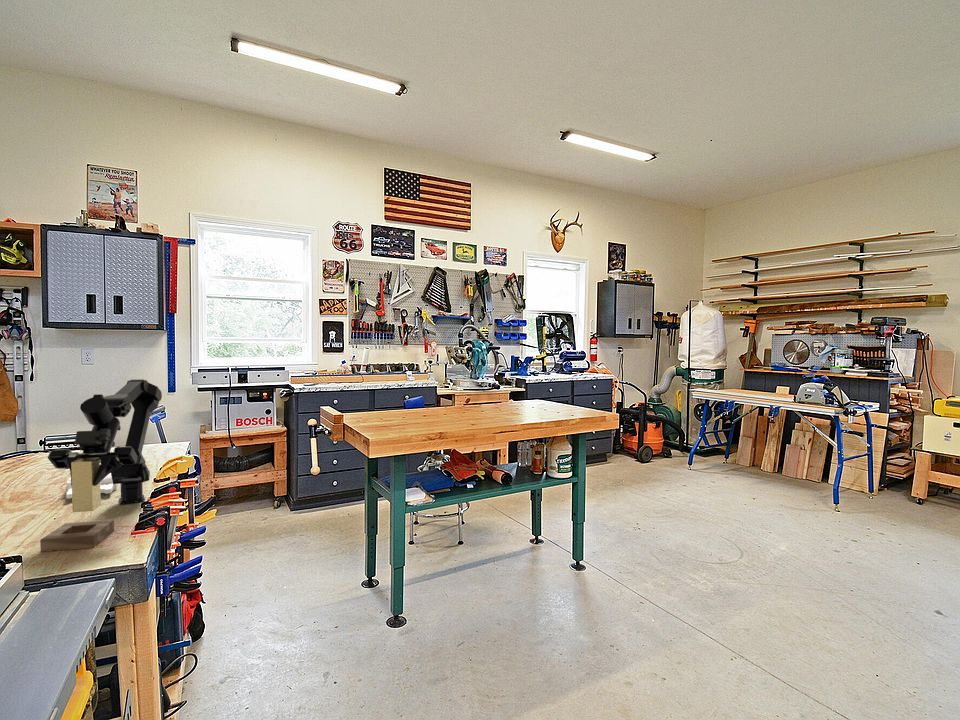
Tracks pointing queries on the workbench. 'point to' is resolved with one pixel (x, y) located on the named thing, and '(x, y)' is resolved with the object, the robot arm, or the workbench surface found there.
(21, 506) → the workbench surface
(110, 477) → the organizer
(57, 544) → the walnut block
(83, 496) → the pale yellow rectangular block
